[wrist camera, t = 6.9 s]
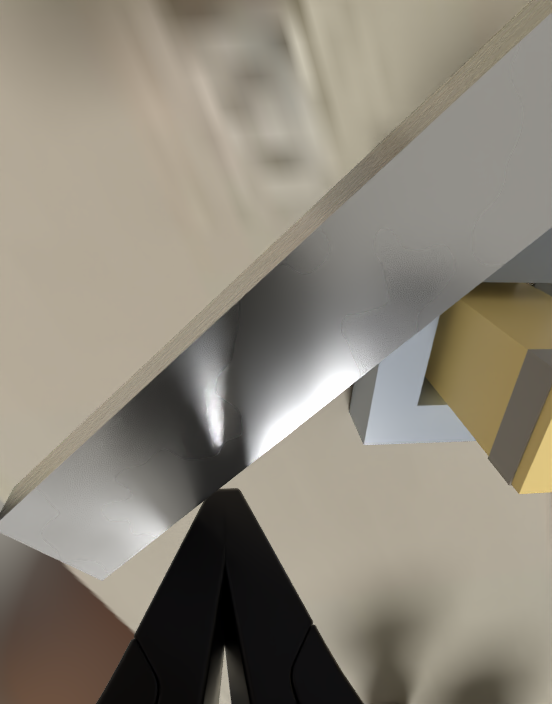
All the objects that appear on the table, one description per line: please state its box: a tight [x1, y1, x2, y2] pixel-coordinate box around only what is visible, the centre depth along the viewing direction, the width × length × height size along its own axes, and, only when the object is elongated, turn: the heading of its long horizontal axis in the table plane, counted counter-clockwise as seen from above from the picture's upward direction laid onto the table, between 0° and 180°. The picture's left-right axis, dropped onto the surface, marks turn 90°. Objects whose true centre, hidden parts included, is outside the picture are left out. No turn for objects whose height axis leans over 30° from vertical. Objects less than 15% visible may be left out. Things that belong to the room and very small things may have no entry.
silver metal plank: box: [0, 0, 552, 580], centre depth 6 cm, size 22×4×1 cm, turn 132°
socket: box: [349, 228, 552, 445], centre depth 18 cm, size 9×9×2 cm
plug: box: [425, 282, 552, 494], centre depth 16 cm, size 4×4×8 cm
